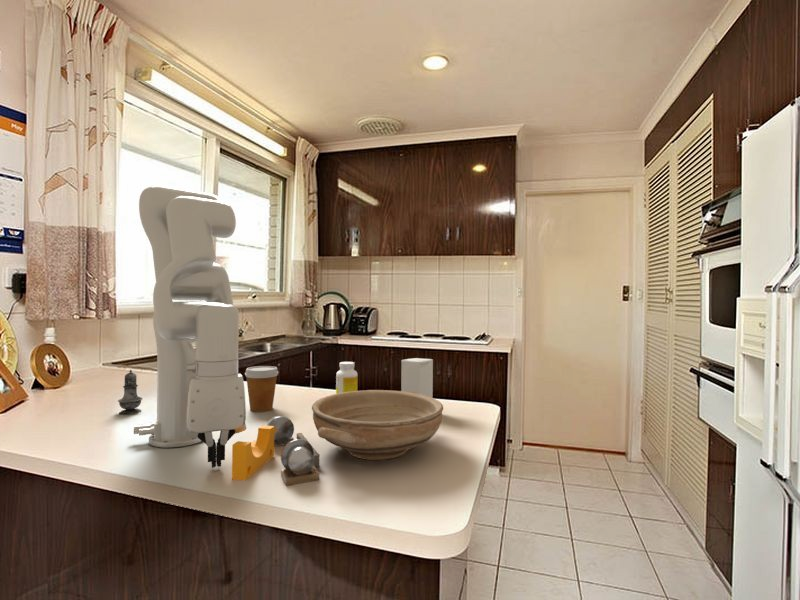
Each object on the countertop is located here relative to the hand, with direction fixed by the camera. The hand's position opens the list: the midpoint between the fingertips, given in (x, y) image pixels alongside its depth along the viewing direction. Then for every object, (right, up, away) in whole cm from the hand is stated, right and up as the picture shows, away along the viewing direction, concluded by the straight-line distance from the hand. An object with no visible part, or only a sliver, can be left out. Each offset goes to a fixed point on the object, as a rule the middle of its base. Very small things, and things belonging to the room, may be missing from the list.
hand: (216, 464), depth 82 cm
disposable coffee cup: (-6, -1, +44) cm, 45 cm away
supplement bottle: (+19, -1, +52) cm, 55 cm away
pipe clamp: (+6, -1, +2) cm, 6 cm away
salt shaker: (-41, 0, +39) cm, 57 cm away
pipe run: (+12, -1, +6) cm, 14 cm away
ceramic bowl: (+30, -2, +12) cm, 33 cm away
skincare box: (+40, -2, +42) cm, 58 cm away
